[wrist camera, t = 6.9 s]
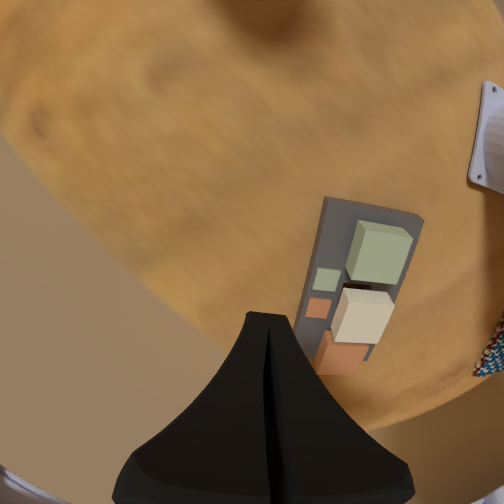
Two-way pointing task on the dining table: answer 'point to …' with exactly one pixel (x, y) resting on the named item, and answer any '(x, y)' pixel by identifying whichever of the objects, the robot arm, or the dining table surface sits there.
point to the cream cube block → (361, 316)
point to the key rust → (338, 356)
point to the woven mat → (492, 354)
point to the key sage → (378, 252)
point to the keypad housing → (342, 265)
